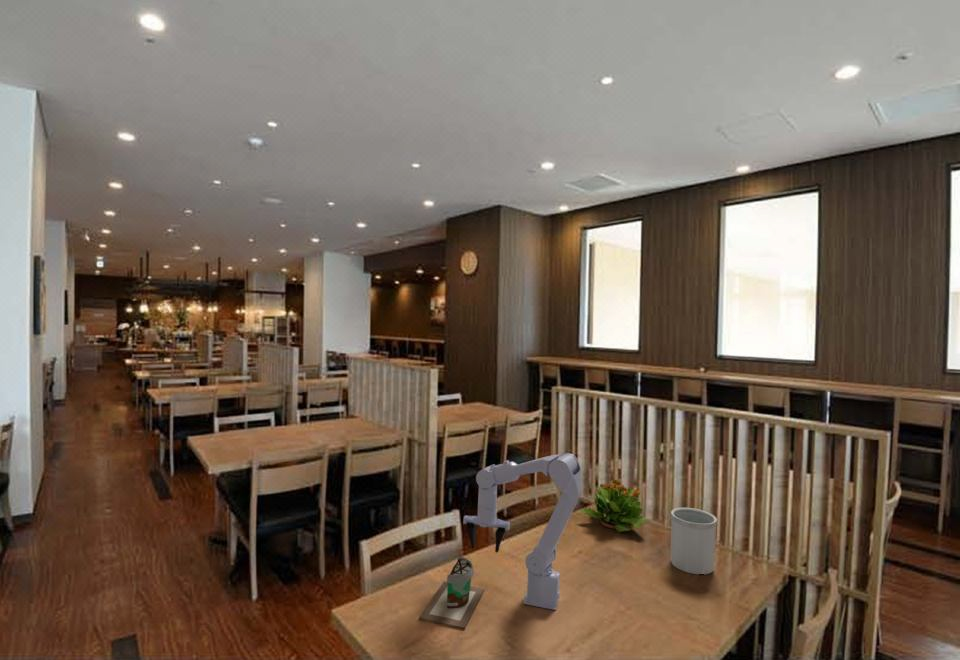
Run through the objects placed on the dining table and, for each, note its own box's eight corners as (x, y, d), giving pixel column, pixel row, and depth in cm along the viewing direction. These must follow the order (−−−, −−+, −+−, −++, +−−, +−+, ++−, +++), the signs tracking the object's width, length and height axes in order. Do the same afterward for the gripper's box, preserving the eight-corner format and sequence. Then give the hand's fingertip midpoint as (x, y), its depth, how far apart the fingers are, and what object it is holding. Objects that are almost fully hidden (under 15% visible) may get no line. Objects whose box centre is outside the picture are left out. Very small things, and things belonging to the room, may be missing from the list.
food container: (467, 614, 138) (468, 578, 137) (445, 611, 139) (447, 575, 139) (476, 591, 150) (478, 558, 149) (457, 588, 151) (458, 555, 151)
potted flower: (581, 531, 197) (583, 487, 197) (579, 509, 221) (581, 470, 220) (647, 539, 193) (649, 494, 193) (638, 515, 217) (640, 475, 216)
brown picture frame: (484, 591, 151) (484, 589, 151) (464, 629, 132) (464, 627, 132) (443, 583, 155) (443, 581, 155) (418, 619, 135) (418, 617, 135)
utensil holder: (667, 569, 170) (670, 518, 169) (668, 551, 183) (671, 504, 183) (715, 580, 164) (718, 527, 164) (713, 560, 178) (715, 511, 177)
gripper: (461, 507, 154) (459, 550, 154) (507, 514, 150) (505, 558, 150) (467, 499, 161) (465, 541, 161) (511, 505, 157) (510, 548, 157)
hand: (485, 549), depth 156 cm, fingers open, 7 cm apart
